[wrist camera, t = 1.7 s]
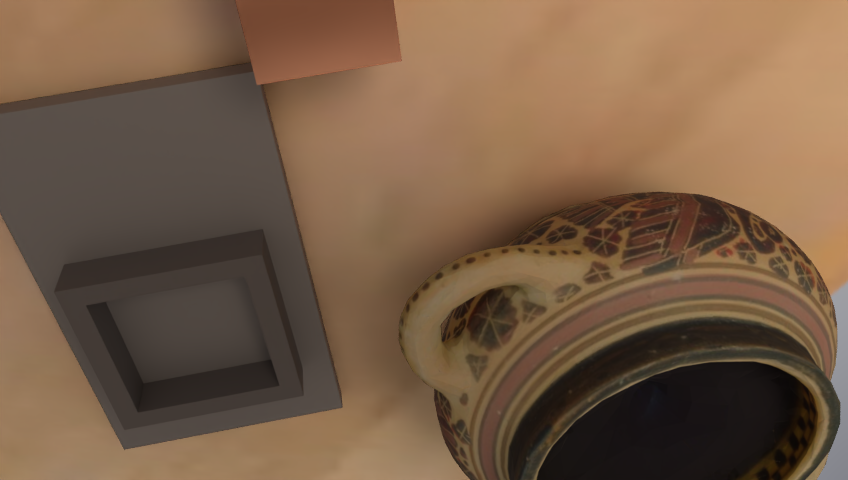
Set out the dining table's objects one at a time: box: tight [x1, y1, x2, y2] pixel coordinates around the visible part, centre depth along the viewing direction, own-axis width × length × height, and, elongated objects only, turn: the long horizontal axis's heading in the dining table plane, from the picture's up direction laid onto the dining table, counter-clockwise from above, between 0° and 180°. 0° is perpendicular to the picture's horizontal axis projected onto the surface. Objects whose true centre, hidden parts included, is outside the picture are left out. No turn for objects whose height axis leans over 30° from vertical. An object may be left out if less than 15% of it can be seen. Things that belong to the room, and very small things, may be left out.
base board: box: [0, 63, 342, 450], centre depth 37 cm, size 20×12×3 cm, turn 6°
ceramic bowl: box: [399, 192, 840, 480], centre depth 36 cm, size 24×18×15 cm
